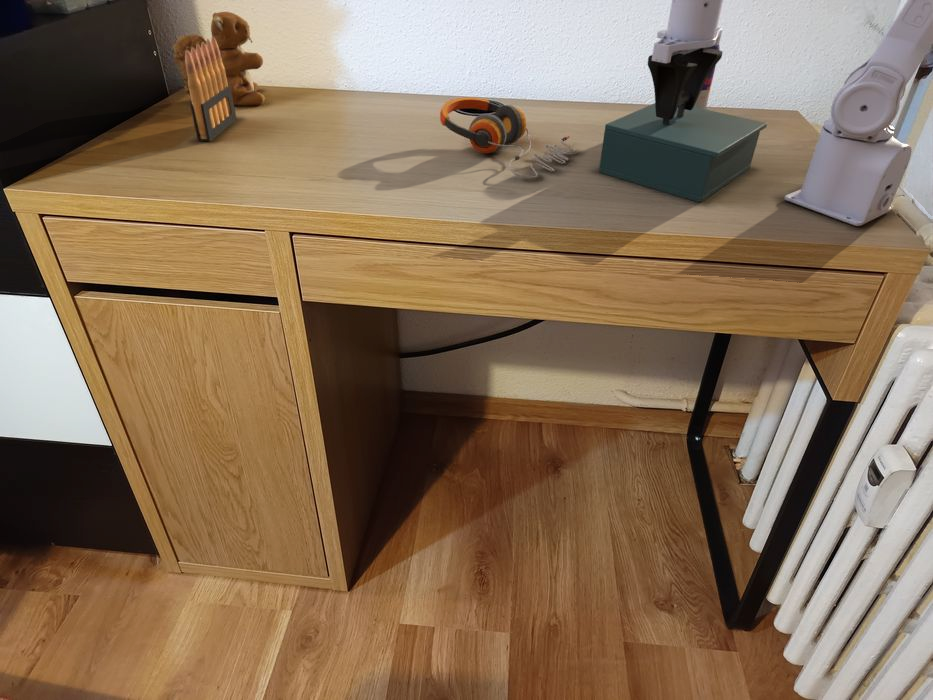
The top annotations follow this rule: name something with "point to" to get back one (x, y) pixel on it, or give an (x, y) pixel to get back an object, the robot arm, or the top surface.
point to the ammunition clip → (209, 91)
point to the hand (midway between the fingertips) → (674, 113)
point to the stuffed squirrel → (227, 56)
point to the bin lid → (689, 128)
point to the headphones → (496, 129)
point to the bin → (673, 165)
